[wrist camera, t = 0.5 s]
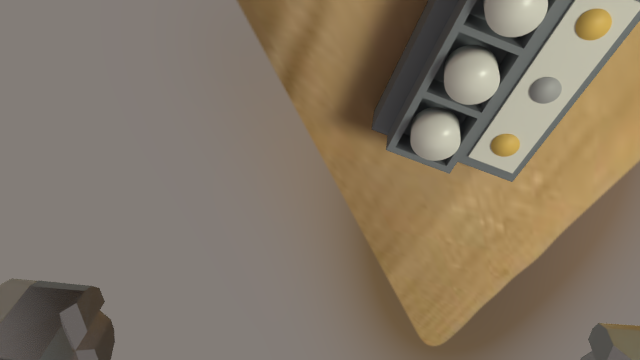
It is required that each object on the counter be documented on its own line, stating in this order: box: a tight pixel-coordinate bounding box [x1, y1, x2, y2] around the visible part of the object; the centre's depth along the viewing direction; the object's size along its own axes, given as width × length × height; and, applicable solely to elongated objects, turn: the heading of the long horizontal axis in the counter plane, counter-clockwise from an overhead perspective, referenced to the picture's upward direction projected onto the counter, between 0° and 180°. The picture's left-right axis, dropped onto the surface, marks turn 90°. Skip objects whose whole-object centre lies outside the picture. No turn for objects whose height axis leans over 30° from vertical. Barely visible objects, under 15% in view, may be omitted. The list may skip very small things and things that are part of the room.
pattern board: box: [372, 0, 640, 182], centre depth 44 cm, size 19×14×6 cm
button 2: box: [483, 0, 548, 37], centre depth 37 cm, size 4×4×2 cm
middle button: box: [444, 45, 500, 105], centre depth 41 cm, size 4×4×2 cm
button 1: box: [410, 107, 461, 161], centre depth 45 cm, size 4×4×2 cm
